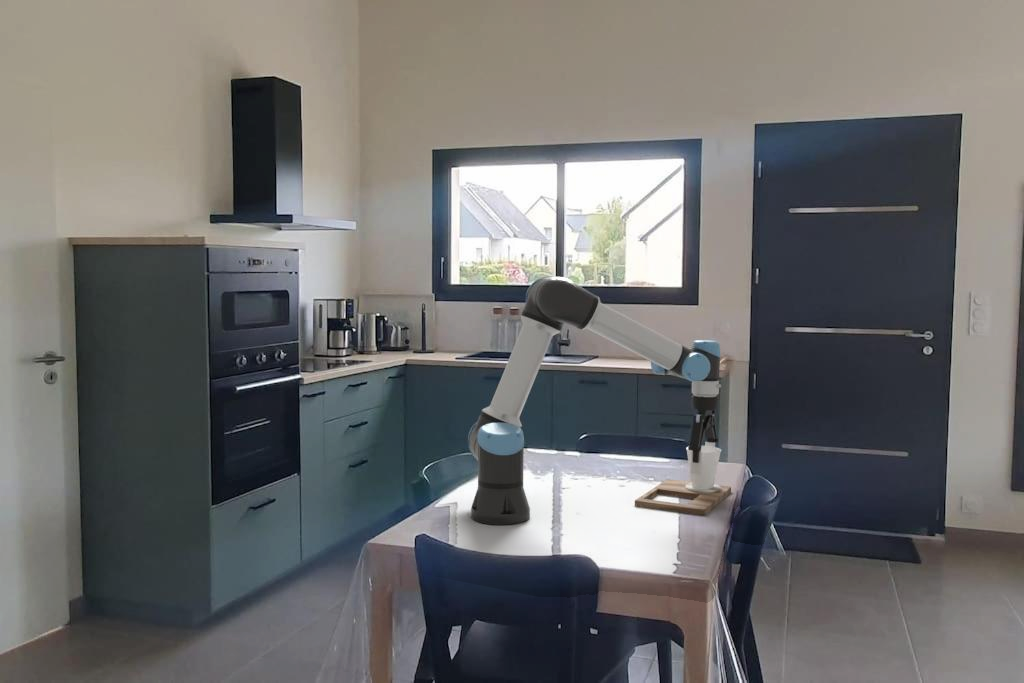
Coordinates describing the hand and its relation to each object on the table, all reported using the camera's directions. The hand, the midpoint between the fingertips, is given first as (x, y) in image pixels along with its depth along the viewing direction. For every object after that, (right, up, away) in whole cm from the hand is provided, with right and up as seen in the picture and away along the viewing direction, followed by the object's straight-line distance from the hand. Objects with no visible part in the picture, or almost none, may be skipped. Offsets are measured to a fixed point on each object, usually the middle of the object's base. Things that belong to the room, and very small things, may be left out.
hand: (703, 469), depth 249 cm
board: (-6, -8, -5) cm, 11 cm away
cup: (0, -5, 0) cm, 5 cm away
